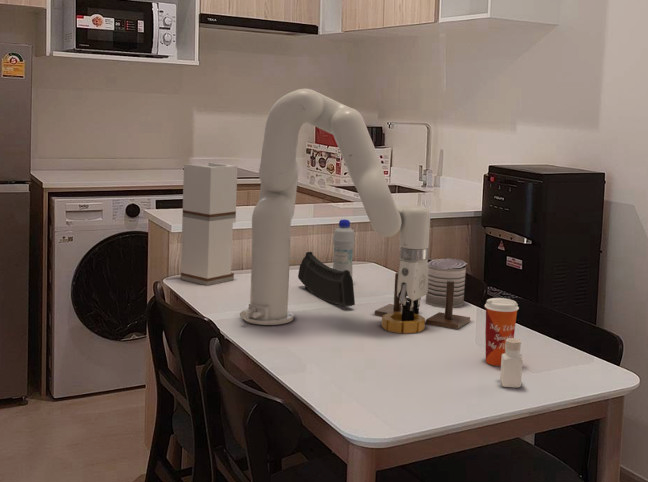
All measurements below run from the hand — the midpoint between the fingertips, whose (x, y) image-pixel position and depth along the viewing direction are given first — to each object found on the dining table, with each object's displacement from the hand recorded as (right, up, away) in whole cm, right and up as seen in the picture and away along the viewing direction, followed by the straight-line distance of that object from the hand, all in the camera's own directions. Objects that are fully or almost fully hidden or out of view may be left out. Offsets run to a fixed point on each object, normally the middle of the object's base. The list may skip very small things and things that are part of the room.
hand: (409, 323), depth 214 cm
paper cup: (+20, -4, -28) cm, 35 cm away
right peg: (+10, 0, +3) cm, 11 cm away
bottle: (-22, +5, +42) cm, 48 cm away
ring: (-2, 0, -4) cm, 4 cm away
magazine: (-25, +3, +23) cm, 34 cm away
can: (+10, +1, +25) cm, 26 cm away
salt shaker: (+22, -6, -42) cm, 48 cm away
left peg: (-4, +1, +9) cm, 10 cm away
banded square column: (-62, +7, +37) cm, 73 cm away
